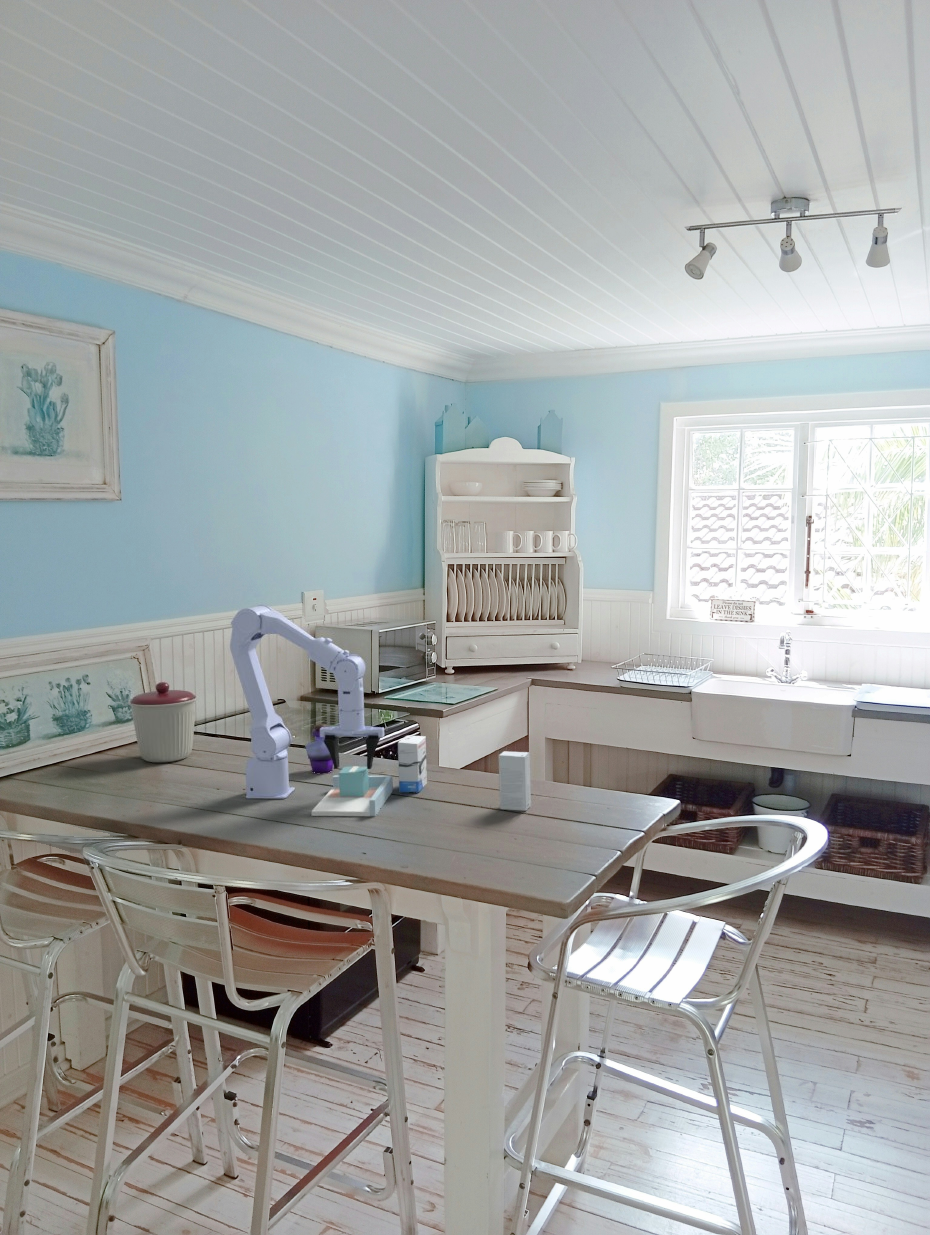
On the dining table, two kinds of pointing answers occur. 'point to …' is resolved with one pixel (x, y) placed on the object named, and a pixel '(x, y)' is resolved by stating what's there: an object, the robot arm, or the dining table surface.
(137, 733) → the canister
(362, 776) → the cube
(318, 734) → the potion bottle
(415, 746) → the ink box
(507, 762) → the skincare box
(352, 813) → the tray
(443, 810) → the dining table surface
